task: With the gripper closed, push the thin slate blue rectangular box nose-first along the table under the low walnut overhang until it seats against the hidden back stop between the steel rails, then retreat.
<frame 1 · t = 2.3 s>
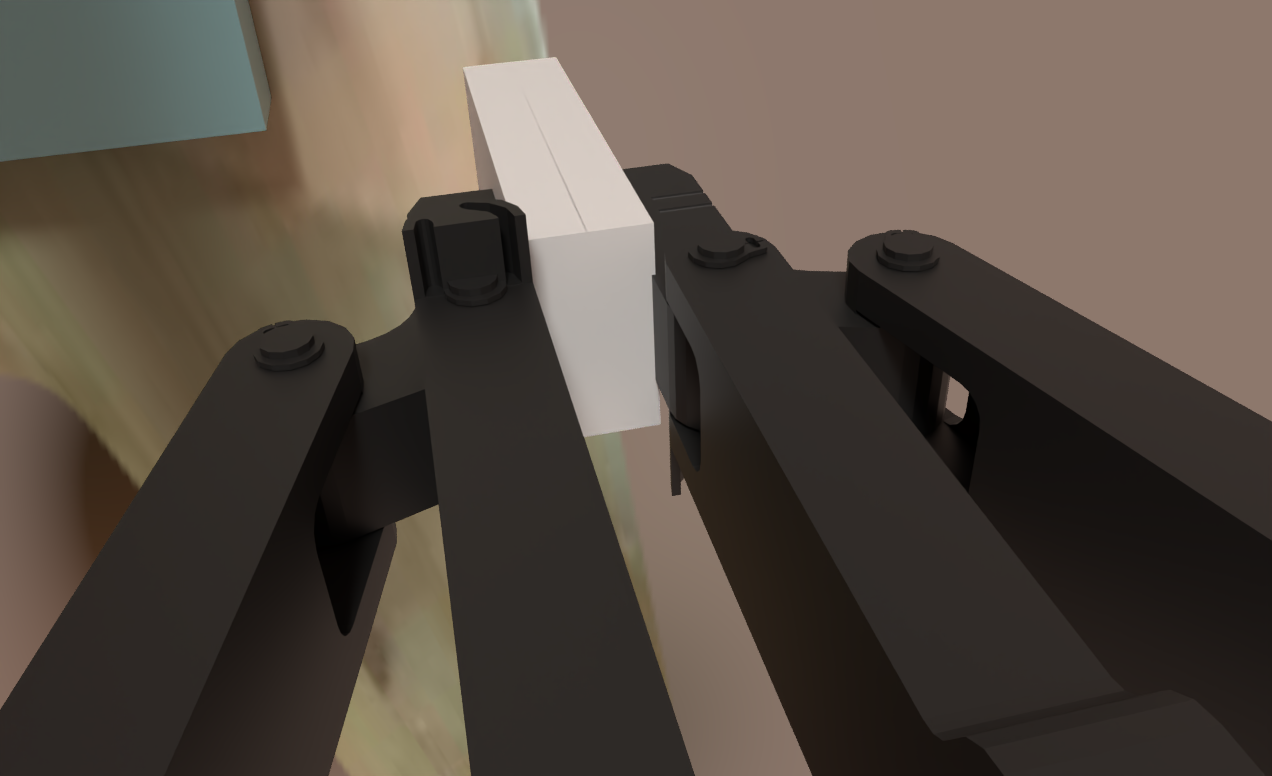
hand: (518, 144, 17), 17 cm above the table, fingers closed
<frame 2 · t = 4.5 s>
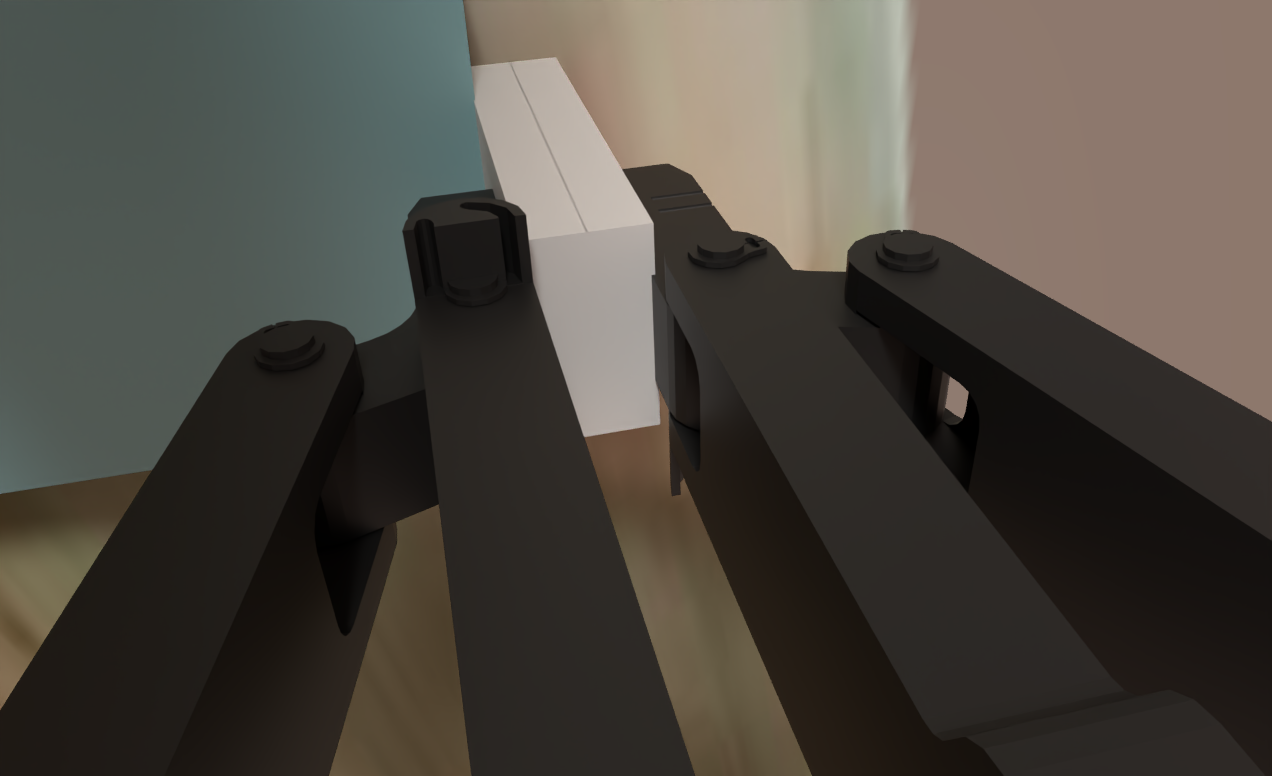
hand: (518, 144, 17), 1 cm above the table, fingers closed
slate blue rectangular box: (139, 169, 17), on the table, touching gripper
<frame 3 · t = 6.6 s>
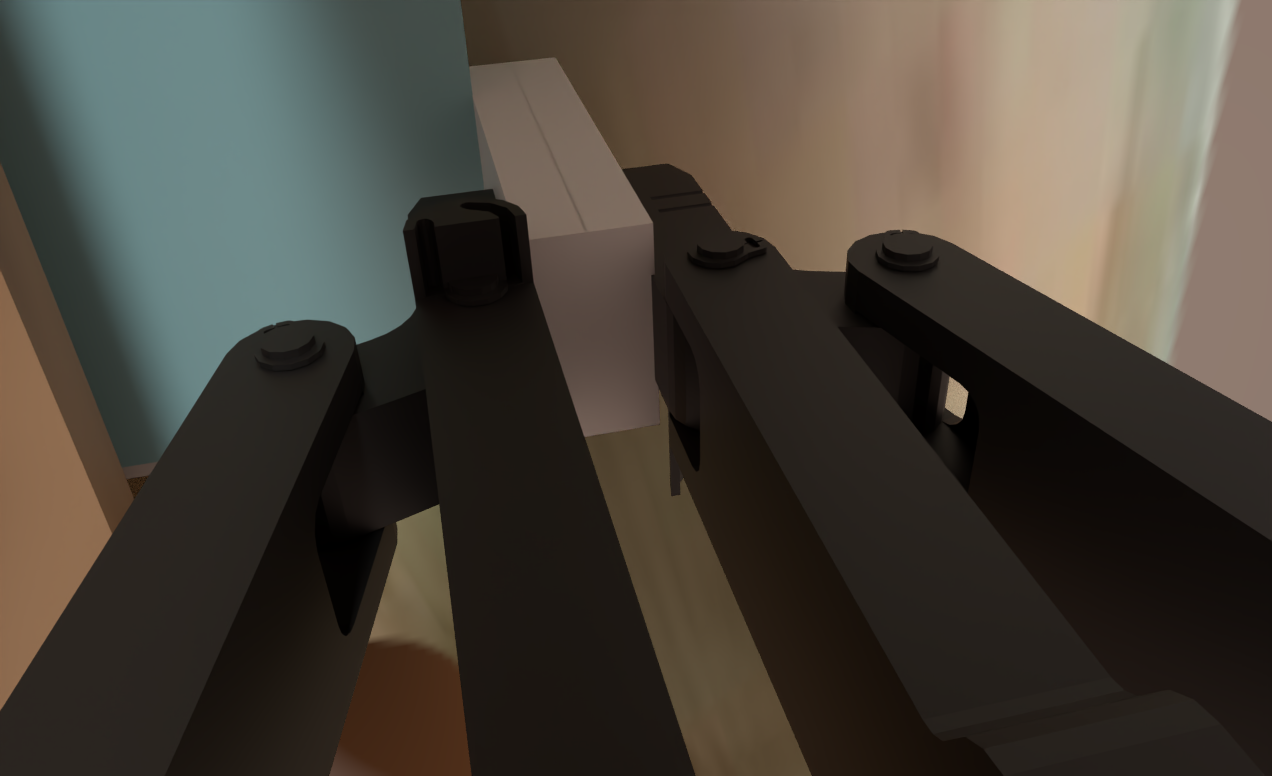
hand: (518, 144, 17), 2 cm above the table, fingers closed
slate blue rectangular box: (140, 164, 18), on the table, touching gripper
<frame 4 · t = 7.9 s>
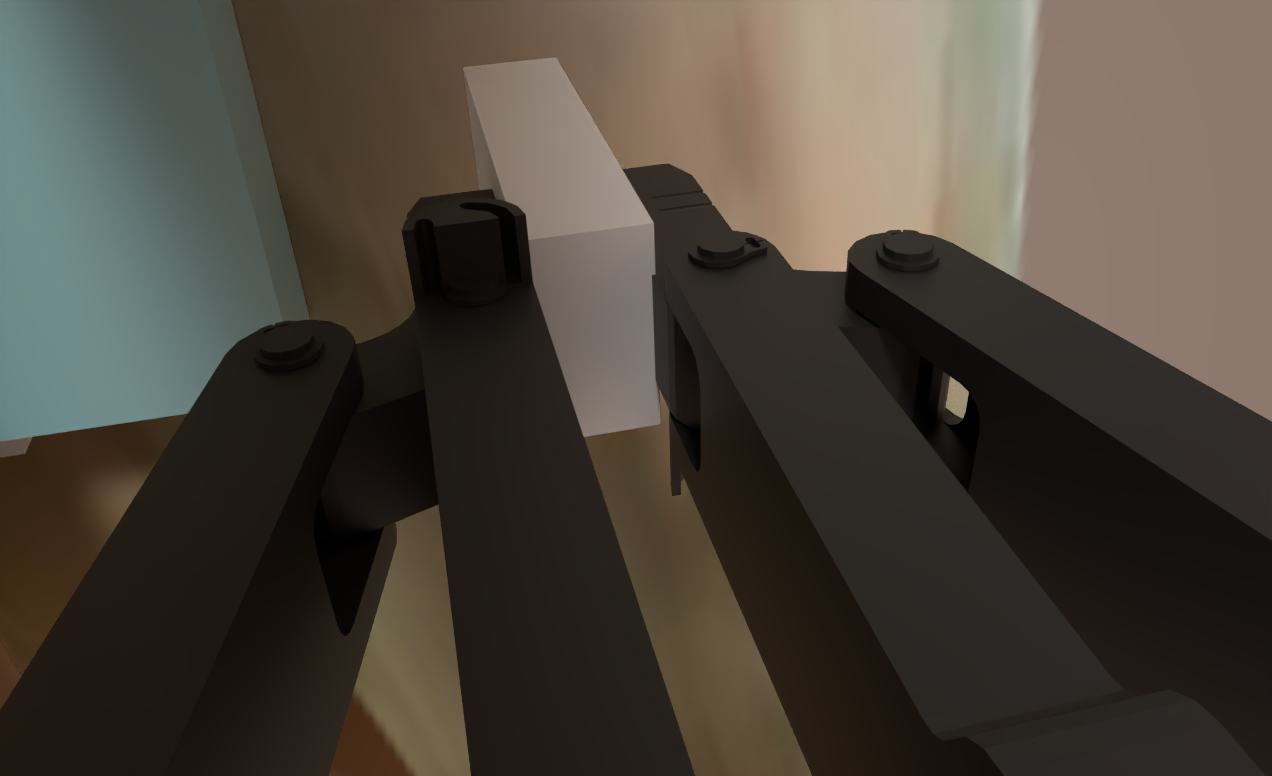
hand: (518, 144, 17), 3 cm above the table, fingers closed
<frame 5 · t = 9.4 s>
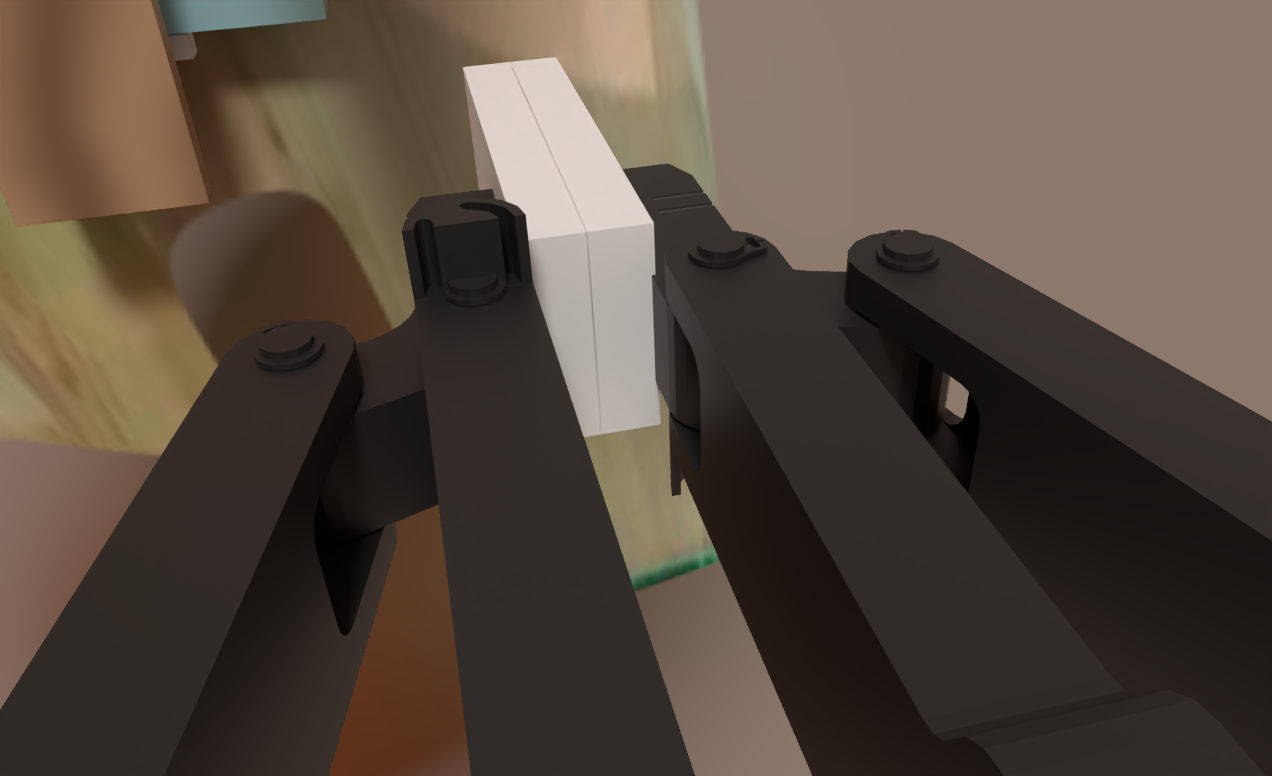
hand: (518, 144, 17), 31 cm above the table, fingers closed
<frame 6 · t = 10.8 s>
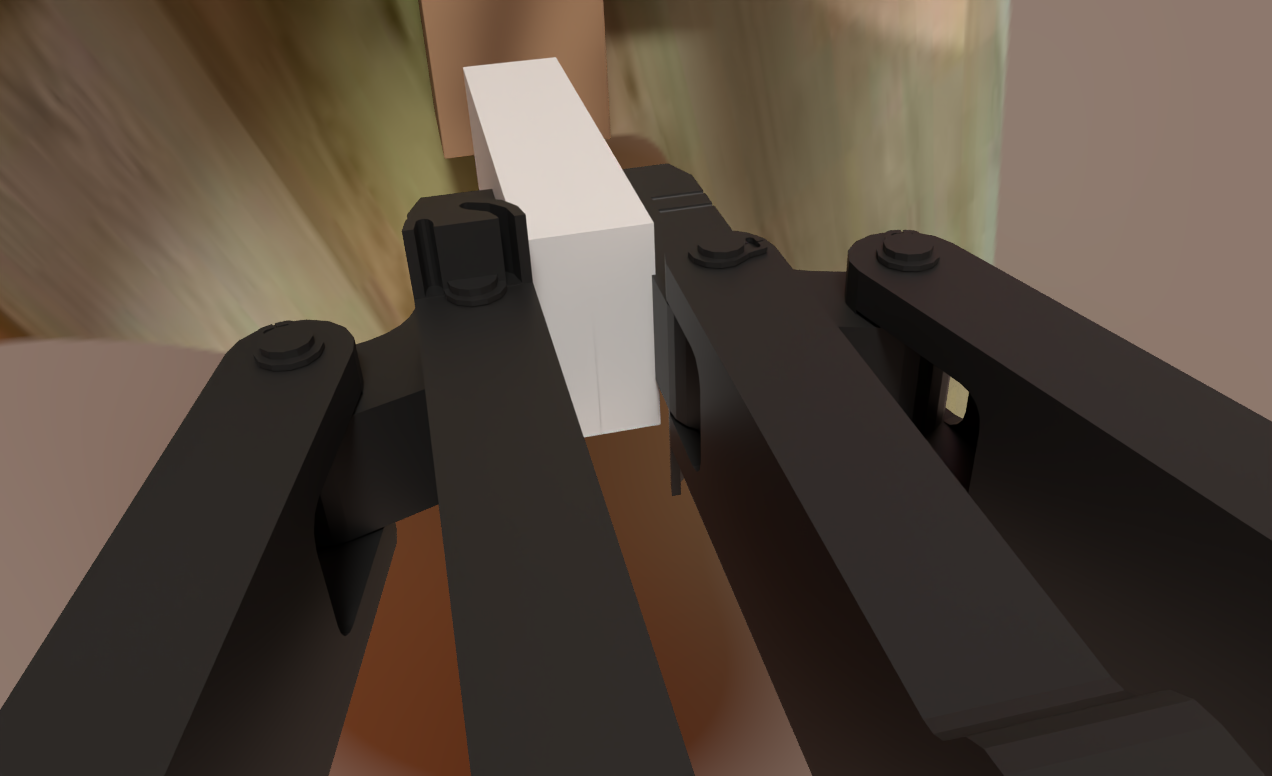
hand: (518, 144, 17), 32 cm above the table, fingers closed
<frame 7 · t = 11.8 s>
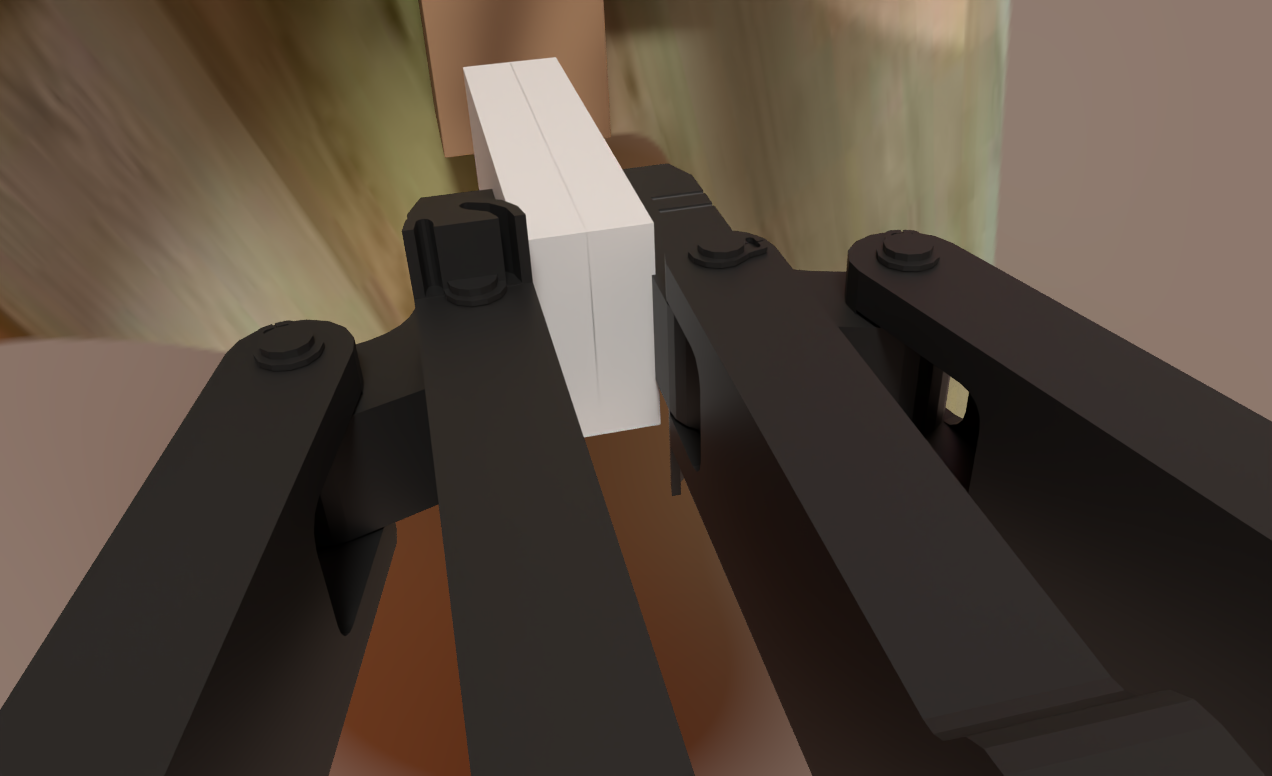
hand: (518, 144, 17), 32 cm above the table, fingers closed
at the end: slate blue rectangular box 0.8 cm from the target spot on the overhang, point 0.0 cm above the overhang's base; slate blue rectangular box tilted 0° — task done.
